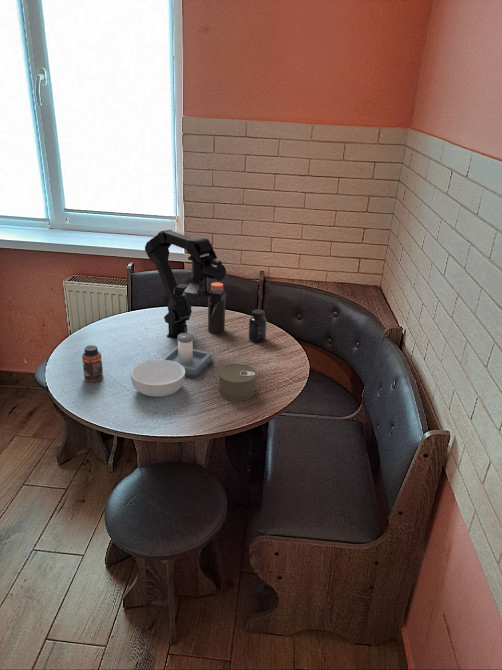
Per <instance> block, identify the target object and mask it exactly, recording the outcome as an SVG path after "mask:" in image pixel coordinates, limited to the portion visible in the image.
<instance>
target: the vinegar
mask: <svg viewBox="0 0 502 670" xmlns="http://www.w3.org/2000/svg"><path fill="white" fill-rule="evenodd" d="M216 289H218V290H224V284H223V283H222V282H220V281H216V282H211V283H210V291H211V292H213V291H215V290H216ZM207 299H208V300H207V301H208V302H207V307H208V309H207V315H208V316H207V330H208V332H209V333H210V334H215V335H217V334H218V335H219V334H222V333H224V332H225V329H226V328H225V327H226V324H225V323H226V298H225V299H224V300H223V301H222V302H219V303H218V304H217V306H216V309H215V311H214V313H213V316H212V317H210V307H211V304H210V301H211V299H210V297H208V296H207Z"/></svg>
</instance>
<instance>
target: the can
mask: <svg viewBox="0 0 502 670" xmlns="http://www.w3.org/2000/svg"><path fill="white" fill-rule="evenodd" d="M256 378H257V371H256V369H254V367H251V366H249V365H246V364H240V363H232V364H227V365H224V366H222V367H221V368H220V369H219V370H218V393H219V395H220V396H221V397H222V398H224V399H226V400H229V401H235V402H239V401H246V400H249V399H251V398H252V397H253V396H254V395H255V389H256Z"/></svg>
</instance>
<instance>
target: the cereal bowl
mask: <svg viewBox="0 0 502 670" xmlns="http://www.w3.org/2000/svg"><path fill="white" fill-rule="evenodd" d="M161 359H162V358H161ZM161 359H150V360H146V361H142V362H141V363H138V364H137V365H135V366H134V367H133V368H132V369H131V370H130V378H131V383H132V386H133V387H134V389H135V390H136V391H138V392H139V393H140V394H143V395H145V396H149V397H155V398H156V397H165V396H166V397H167V396H170V395H173V394H174V393H177V392H178V391H180V389H181V388H182V387H183V385H184V382H185V380H186V376H185V369H184V367H183V366H182V365H180V364H179V363H177V362H174V361H170V360H161Z"/></svg>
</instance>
